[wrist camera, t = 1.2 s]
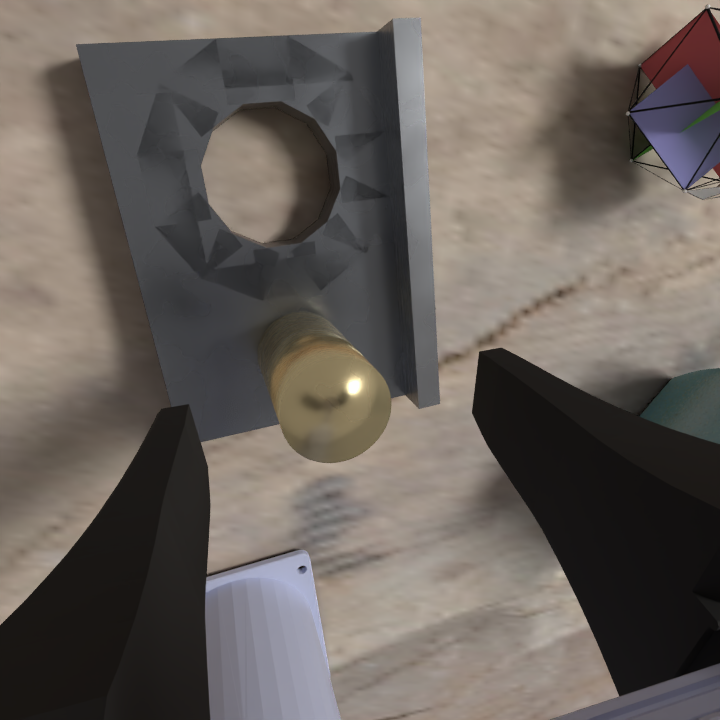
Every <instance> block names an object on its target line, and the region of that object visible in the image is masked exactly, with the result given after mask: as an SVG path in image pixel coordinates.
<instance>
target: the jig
mask: <svg viewBox="0 0 720 720" xmlns="http://www.w3.org/2000/svg"><path fill="white" fill-rule="evenodd" d="M76 47H77V50H78V54H79V58H80V62H81V66H82V69H83V73H84V77H85V81H86V85H87V88H88V92H89V96H90V100H91V104H92V107H93V111H94V115H95V119H96V123H97V126H98V130H99V134H100V138H101V142H102V145H103V149H104V153H105V157H106V161H107V164H108V168H109V172H110V176H111V180H112V183H113V187H114V191H115V195H116V199H117V202H118V206H119V210H120V214H121V218H122V221H123V225H124V229H125V233H126V237H127V240H128V244H129V248H130V252H131V256H132V259H133V263H134V267H135V271H136V275H137V278H138V282H139V286H140V290H141V294H142V297H143V301H144V305H145V309H146V313H147V316H148V320H149V324H150V328H151V332H152V335H153V339H154V343H155V347H156V351H157V355H158V358H159V362H160V366H161V370H162V374H163V377H164V381H165V385H166V389H167V393H168V396H169V400H170V404H171V407H175V406H180V405H186V404H189V406H190V409H191V412H192V416H193V419H194V422H195V426H196V429H197V432H198V436H199V439H200V442H203V441H208V440H212V439H216V438H221V437H225V436H229V435H234V434H238V433H242V432H247V431H251V430H255V429H260V428H264V427H268V426H273V425H277V424H280V423H279V421H278V418H277V415H276V412H275V409H274V406H273V404H272V401H271V398H270V395H269V392H268V390H267V387H266V384H265V381H264V378H263V375H262V373H261V370H260V367H259V363H258V346H259V343H260V340H261V338H262V335H263V334H264V332H265V331H266V329H267V328H268V327H269V326H270V325H271V324H272V323H273V322H274V321H276V320H277V319H278V318H280V317H282V316H284V315H287V314H290V313H294V312H311V313H315V314H318V315H320V316H322V317H324V318H325V319H327V320H328V321H329V322H331V324H332V325H333V326H334V327H335V328H336V329H337V330H338V331H339V332H340V333H341V334H342V335H343V336H344V337H345V338H346V339H347V340H348V341H349V342H350V343H351V344H352V345H353V346H354V347H355V348H356V349H357V350H358V351H359V352H360V353H361V354H362V355H363V356H364V357H365V358H366V360H367V361H368V362H369V363H370V364H371V365H372V366H373V367H374V368H375V369H376V370H377V371H378V372H379V373H380V374H381V375H382V377H383V378H384V380H385V381H386V383H387V385H388V388H389V391H390V396H391V398H394V397H398V396H403V395H406V396H407V397H408V398H409V399H410V400H411V401H412V402H413V403H414V404H415V405H416V406H417V407H418V408H419V409H420V408H425V407H429V406H433V405H437V404H440V396H439V376H438V355H437V335H436V315H435V295H434V275H433V255H432V235H431V215H430V195H429V175H428V155H427V135H426V115H425V95H424V75H423V55H422V35H421V18H398V19H392V20H391V21H390V22H388V23H387V24H386V25H385V26H383V27H382V28H381V29H380V30H379V31H377V32H359V33H335V34H312V35H288V36H264V37H241V38H217V39H193V40H169V41H146V42H122V43H98V44H76ZM271 107H275V108H277V109H279V110H281V111H283V112H285V113H287V114H289V115H290V116H292V117H294V118H296V119H298V120H300V121H302V122H304V123H306V124H307V125H308V127H309V128H310V130H311V131H312V133H313V134H314V136H315V137H316V139H317V140H318V142H319V143H320V145H321V146H322V148H323V149H324V151H325V152H326V154H327V163H328V171H329V180H330V191H329V193H328V196H327V198H326V201H325V204H324V206H323V209H322V211H321V214H320V216H319V219H318V220H317V221H315V222H314V223H313V224H312V225H310V226H309V227H308V228H307V229H306V230H304V231H303V232H302V233H301V234H299V235H298V236H297V237H296V238H294V239H290V240H283V241H276V242H269V243H260V242H257V241H255V240H252V239H250V238H247V237H245V236H242V235H240V234H237V233H235V232H232V231H230V229H229V228H228V227H227V226H226V225H225V223H224V222H223V221H222V220H221V219H220V217H219V216H218V215H217V214H216V212H215V211H214V210H213V209H212V208H211V206H210V205H209V204H208V199H207V194H206V189H205V184H204V179H203V174H202V169H201V163H202V160H203V157H204V154H205V151H206V148H207V145H208V142H209V139H210V136H211V133H212V131H214V130H215V129H216V128H217V127H219V126H220V125H221V124H222V123H224V122H225V121H226V120H227V119H229V118H230V117H231V116H233V115H234V114H235V113H236V112H238V111H239V110H245V109H258V108H271Z"/></svg>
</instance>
